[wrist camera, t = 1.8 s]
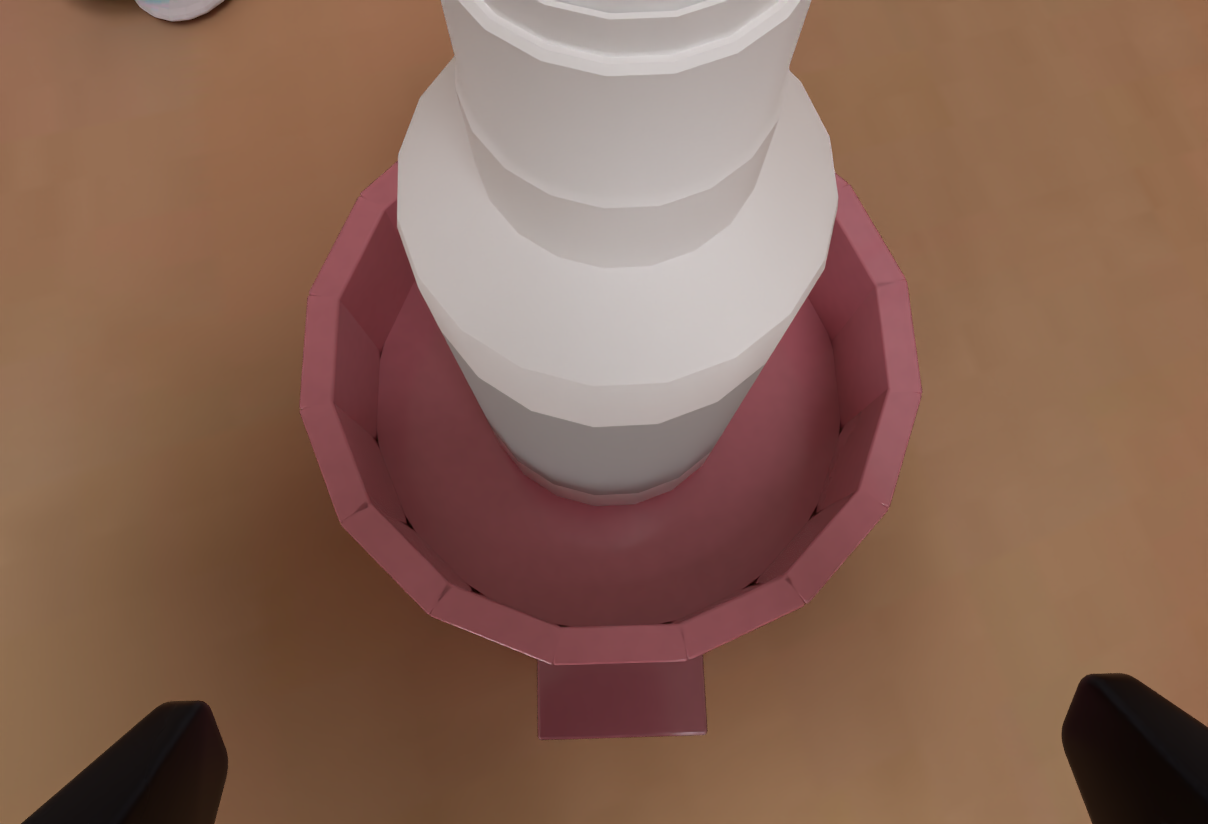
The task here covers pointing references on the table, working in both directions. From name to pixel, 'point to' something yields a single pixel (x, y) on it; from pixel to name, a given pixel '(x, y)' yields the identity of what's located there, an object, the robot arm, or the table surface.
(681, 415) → the spray bottle
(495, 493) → the pot
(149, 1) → the pacifier
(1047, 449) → the table surface
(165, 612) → the table surface
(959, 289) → the table surface
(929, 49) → the table surface
